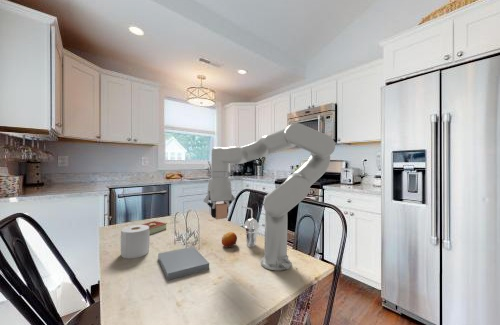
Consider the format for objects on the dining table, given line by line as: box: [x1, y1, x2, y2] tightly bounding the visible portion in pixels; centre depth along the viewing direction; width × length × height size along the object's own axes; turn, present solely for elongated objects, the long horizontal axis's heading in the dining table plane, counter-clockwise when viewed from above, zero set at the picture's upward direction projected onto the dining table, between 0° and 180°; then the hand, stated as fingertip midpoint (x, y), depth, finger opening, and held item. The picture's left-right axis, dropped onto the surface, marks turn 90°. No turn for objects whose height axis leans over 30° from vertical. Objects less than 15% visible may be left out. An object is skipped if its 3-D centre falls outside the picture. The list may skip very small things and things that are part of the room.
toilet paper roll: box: [120, 224, 150, 259], centre depth 103 cm, size 12×12×12 cm
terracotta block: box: [214, 202, 228, 220], centre depth 97 cm, size 5×5×6 cm
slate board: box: [157, 246, 210, 281], centre depth 93 cm, size 20×16×2 cm
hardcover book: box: [141, 220, 168, 236], centre depth 133 cm, size 12×21×4 cm, turn 153°
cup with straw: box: [241, 206, 261, 248], centre depth 114 cm, size 8×9×20 cm
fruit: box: [221, 231, 238, 248], centre depth 113 cm, size 8×8×8 cm
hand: (219, 215), depth 97 cm, fingers closed on terracotta block, 5 cm apart
